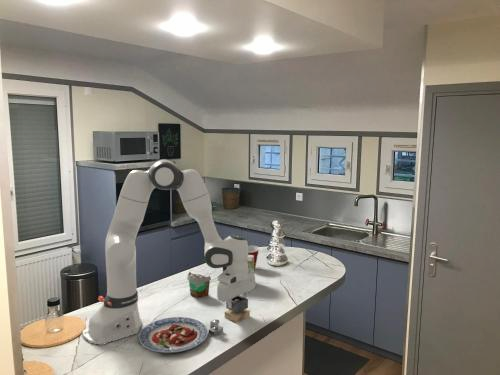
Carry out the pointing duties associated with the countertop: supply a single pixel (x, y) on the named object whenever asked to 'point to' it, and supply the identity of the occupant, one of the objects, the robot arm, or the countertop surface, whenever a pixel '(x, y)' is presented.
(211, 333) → the silver knob on block
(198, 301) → the countertop surface
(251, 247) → the plastic cup
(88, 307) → the countertop surface
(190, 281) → the food container
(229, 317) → the keeper
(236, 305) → the grey square ring
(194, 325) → the ceramic plate
